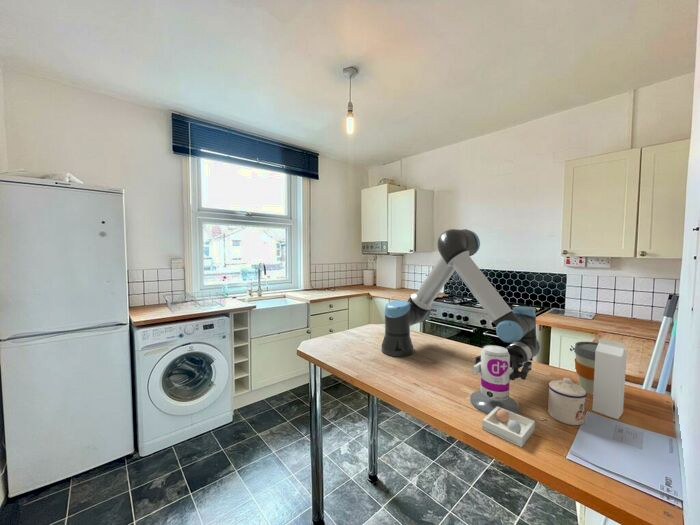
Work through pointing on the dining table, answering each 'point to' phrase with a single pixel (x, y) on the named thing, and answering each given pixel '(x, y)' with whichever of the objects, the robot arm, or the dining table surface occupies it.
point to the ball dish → (501, 428)
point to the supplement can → (494, 372)
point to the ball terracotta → (503, 415)
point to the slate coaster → (492, 403)
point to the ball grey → (514, 426)
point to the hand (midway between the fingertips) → (488, 375)
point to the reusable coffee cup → (585, 364)
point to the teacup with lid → (566, 401)
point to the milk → (609, 378)
